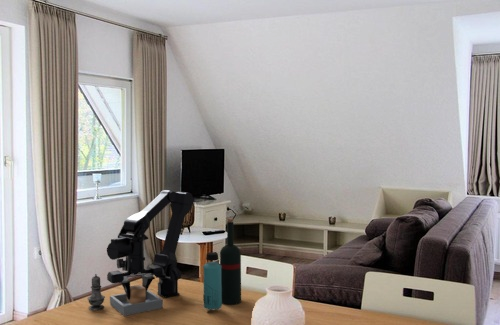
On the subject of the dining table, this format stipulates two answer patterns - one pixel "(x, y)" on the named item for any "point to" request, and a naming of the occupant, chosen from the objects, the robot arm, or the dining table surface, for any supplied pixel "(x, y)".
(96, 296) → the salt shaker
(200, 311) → the dining table surface
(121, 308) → the low wall corral
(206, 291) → the beverage bottle
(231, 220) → the wine bottle
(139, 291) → the light brown block
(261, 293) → the dining table surface
